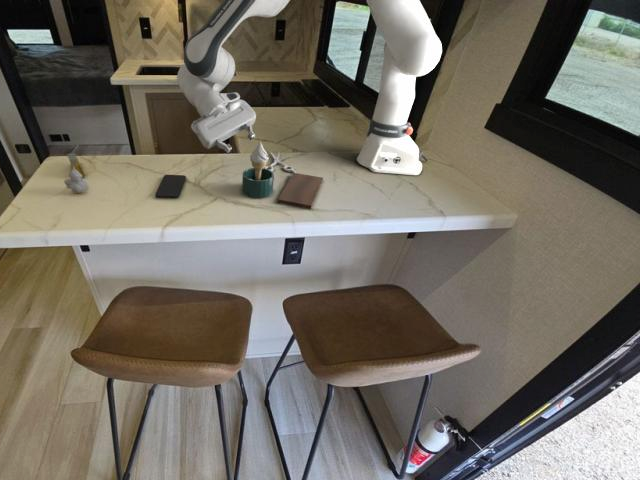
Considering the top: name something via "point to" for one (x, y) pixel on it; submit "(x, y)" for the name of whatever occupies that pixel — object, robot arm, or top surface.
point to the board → (300, 190)
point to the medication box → (75, 163)
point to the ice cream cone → (259, 160)
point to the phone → (170, 186)
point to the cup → (257, 183)
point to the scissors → (280, 164)
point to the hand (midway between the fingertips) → (241, 144)
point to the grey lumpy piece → (76, 182)
